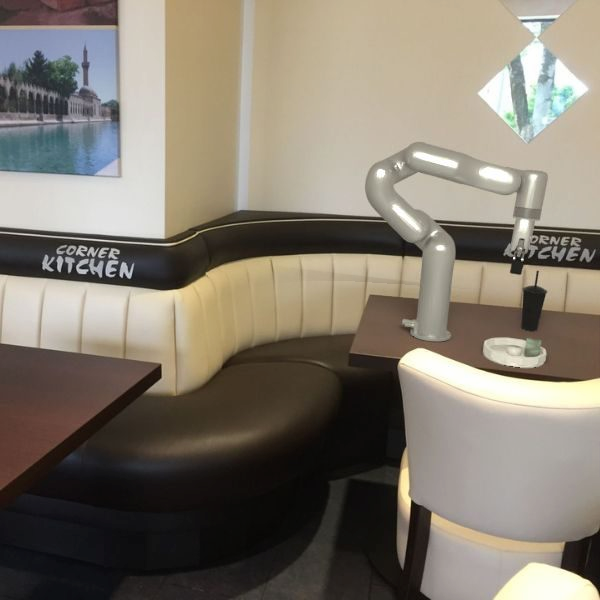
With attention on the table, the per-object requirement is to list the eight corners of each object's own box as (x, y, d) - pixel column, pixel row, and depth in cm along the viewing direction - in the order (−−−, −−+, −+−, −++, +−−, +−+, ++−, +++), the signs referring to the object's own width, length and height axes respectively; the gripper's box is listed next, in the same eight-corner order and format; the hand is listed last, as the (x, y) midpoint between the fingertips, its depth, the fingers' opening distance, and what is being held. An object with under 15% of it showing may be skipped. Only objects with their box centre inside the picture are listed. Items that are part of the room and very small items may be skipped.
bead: (524, 357, 171) (526, 341, 170) (523, 353, 175) (526, 336, 173) (539, 359, 170) (541, 343, 168) (538, 355, 173) (541, 338, 172)
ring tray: (481, 362, 169) (482, 352, 168) (484, 343, 184) (485, 334, 183) (545, 372, 164) (547, 361, 163) (543, 352, 179) (544, 342, 178)
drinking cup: (520, 323, 206) (529, 267, 200) (543, 328, 202) (552, 270, 196) (514, 329, 200) (522, 270, 194) (537, 334, 196) (547, 274, 190)
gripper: (515, 209, 183) (505, 263, 187) (511, 215, 167) (501, 274, 172) (541, 212, 180) (530, 267, 185) (540, 218, 165) (528, 278, 169)
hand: (516, 270), depth 178 cm, fingers open, 9 cm apart
